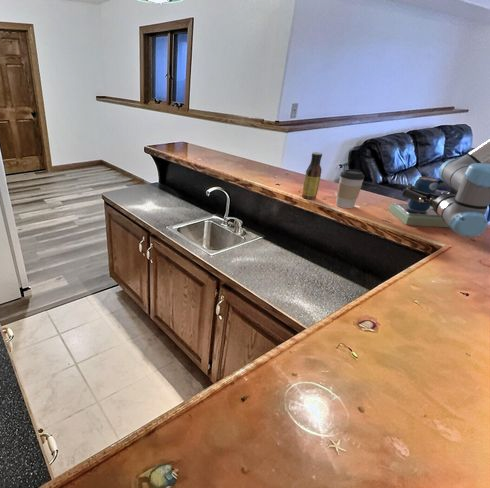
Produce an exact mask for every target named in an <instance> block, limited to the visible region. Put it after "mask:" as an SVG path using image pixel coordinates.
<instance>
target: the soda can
mask: <svg viewBox="0 0 490 488" xmlns="http://www.w3.org/2000/svg"><path fill="white" fill-rule="evenodd" d="M438 180H439V179H438V178H434V177H431V176H419V177H418V178H417V180H415V183H414V184H413V185H414V186H413V187H414V188H415V190H418V191H421V192H425V193H428V194H430V193H433V194H436V191H437V189H438V186H439V183H438V182H439V181H438ZM432 197H434V196H432ZM408 199H409V198H408ZM407 204H408V206H409V208H410V209H411V210H414V211H420V212H424V211H426V210H428V209H429V208H430V206H431V205H430V204H427V203H424V205H421V204H419V203H418V202H416V201H414V200H411V199H409V200H408V203H407Z"/></svg>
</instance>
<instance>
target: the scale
mask: <svg viewBox="0 0 490 488" xmlns="http://www.w3.org/2000/svg"><path fill="white" fill-rule="evenodd" d="M430 208H431V209H432V210H434V209H433V206H432V205H430ZM388 211H389V212H390V214H392V215H394V216H395V217H396V218H397V219H398V220H399V221H401V222H402V223H403V224H404V225H407V226H418V227H419V226H420V227H421V226H422V227H435V228H450V227H449V226H448V225H447V224H446V223H445V221H444V220H443V219H442V218H441V217H428V216H412V215H407V214H406V213H405V212H403V211H402V210H401V209H400V208H398V207H397V206H396V203H390V206H389V208H388Z"/></svg>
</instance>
